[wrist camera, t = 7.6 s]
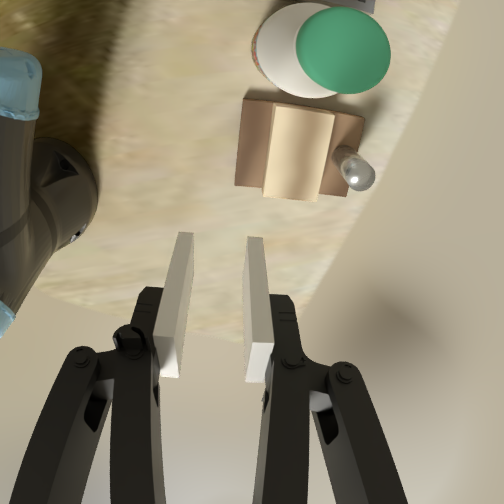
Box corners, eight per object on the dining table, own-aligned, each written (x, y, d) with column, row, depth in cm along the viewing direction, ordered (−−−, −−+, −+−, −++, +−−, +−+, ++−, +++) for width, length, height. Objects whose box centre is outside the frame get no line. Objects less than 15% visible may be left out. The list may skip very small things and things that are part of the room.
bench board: (234, 181, 37) (234, 185, 36) (243, 98, 31) (243, 99, 30) (343, 192, 38) (346, 197, 37) (361, 116, 32) (365, 118, 31)
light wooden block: (261, 187, 36) (263, 196, 34) (273, 102, 30) (276, 106, 28) (311, 192, 37) (316, 201, 35) (328, 110, 31) (335, 115, 29)
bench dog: (329, 167, 35) (344, 189, 30) (334, 142, 33) (351, 161, 28) (352, 170, 35) (370, 193, 30) (358, 147, 33) (378, 166, 28)
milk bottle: (304, 8, 25) (384, -36, 9) (334, 69, 29) (436, 100, 13) (237, 34, 27) (235, 7, 10) (270, 95, 31) (307, 149, 15)
